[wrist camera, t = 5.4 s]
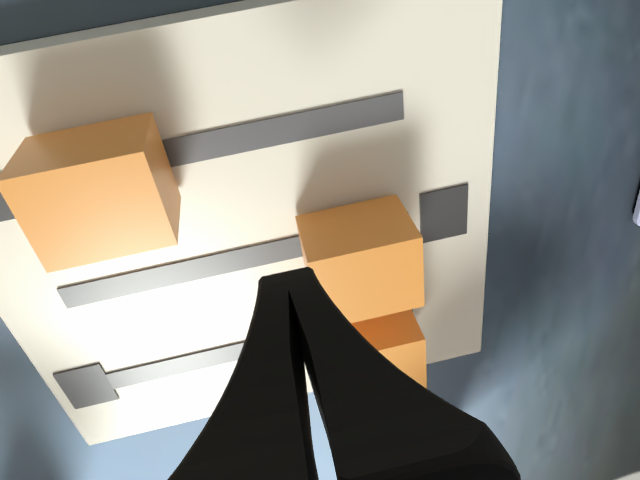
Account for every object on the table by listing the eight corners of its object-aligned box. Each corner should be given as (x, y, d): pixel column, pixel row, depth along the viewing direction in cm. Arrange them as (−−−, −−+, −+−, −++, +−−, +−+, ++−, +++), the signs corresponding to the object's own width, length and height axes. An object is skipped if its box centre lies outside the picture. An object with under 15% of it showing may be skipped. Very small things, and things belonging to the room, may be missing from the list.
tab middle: (396, 194, 20) (422, 237, 18) (400, 259, 22) (424, 306, 20) (294, 216, 20) (307, 263, 18) (307, 279, 22) (320, 330, 19)
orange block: (152, 111, 17) (143, 151, 14) (181, 196, 19) (177, 244, 16) (25, 137, 16) (-6, 181, 14) (67, 220, 18) (46, 273, 16)
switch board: (484, -45, 18) (506, -39, 16) (468, 330, 28) (481, 352, 27) (-131, 70, 16) (-160, 86, 15) (93, 419, 27) (88, 447, 25)
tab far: (402, 291, 23) (425, 339, 21) (405, 341, 25) (426, 391, 23) (313, 311, 23) (326, 362, 20) (323, 360, 25) (336, 413, 22)
